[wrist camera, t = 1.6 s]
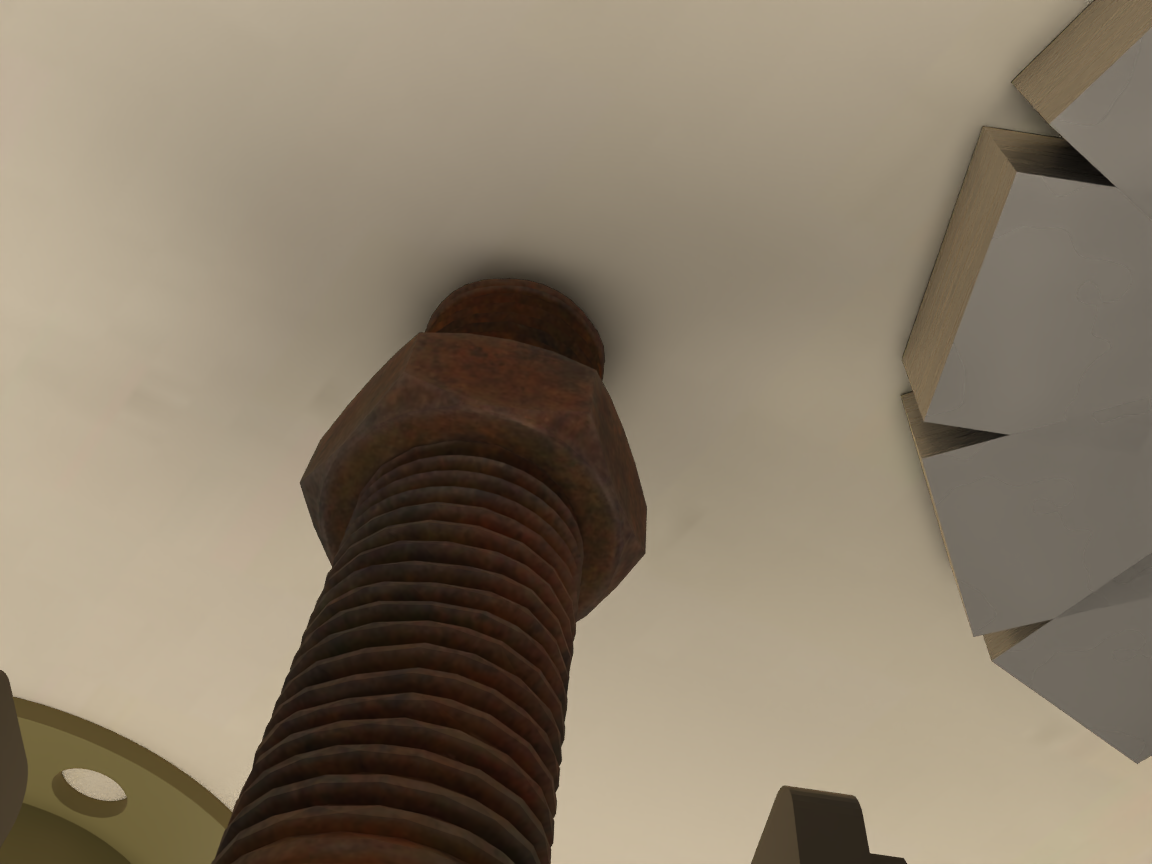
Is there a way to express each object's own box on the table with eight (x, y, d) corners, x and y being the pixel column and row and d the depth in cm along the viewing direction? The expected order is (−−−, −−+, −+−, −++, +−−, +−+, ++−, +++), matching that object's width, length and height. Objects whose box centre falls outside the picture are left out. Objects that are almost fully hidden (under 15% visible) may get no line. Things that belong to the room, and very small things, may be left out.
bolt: (511, 134, 17) (104, 1194, 5) (732, 327, 19) (842, 1494, 7) (311, 362, 20) (-279, 1426, 8) (521, 514, 22) (314, 1601, 9)
